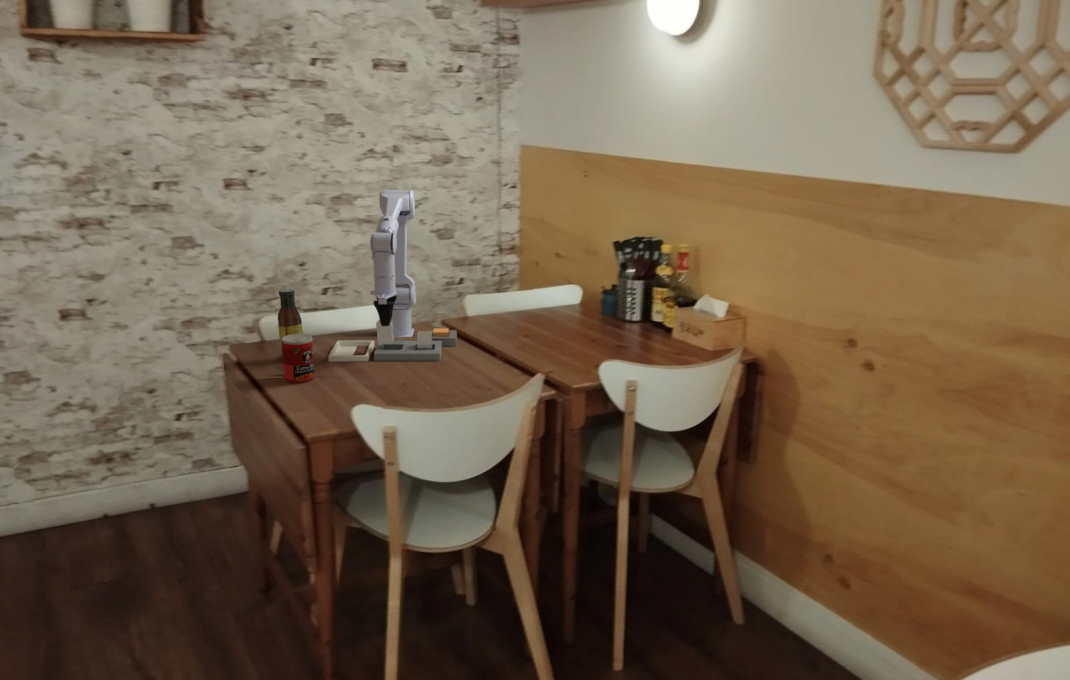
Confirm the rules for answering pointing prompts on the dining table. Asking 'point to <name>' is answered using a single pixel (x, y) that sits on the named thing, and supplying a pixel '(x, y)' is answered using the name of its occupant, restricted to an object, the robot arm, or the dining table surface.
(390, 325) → the steel block
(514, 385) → the dining table surface
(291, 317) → the sauce bottle
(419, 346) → the block
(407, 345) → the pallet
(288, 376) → the canned food
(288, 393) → the dining table surface
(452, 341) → the button housing
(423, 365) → the dining table surface
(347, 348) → the tray
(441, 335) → the button
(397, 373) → the dining table surface
